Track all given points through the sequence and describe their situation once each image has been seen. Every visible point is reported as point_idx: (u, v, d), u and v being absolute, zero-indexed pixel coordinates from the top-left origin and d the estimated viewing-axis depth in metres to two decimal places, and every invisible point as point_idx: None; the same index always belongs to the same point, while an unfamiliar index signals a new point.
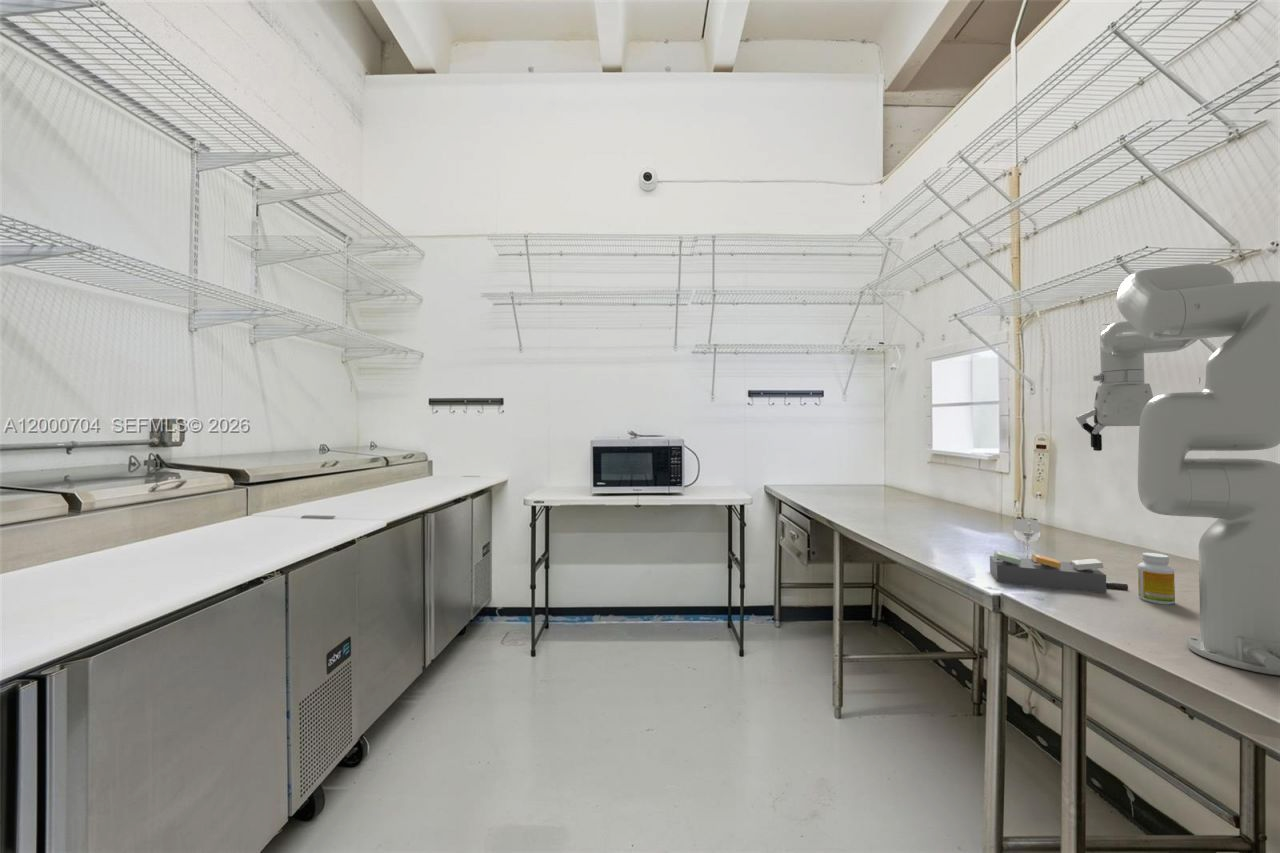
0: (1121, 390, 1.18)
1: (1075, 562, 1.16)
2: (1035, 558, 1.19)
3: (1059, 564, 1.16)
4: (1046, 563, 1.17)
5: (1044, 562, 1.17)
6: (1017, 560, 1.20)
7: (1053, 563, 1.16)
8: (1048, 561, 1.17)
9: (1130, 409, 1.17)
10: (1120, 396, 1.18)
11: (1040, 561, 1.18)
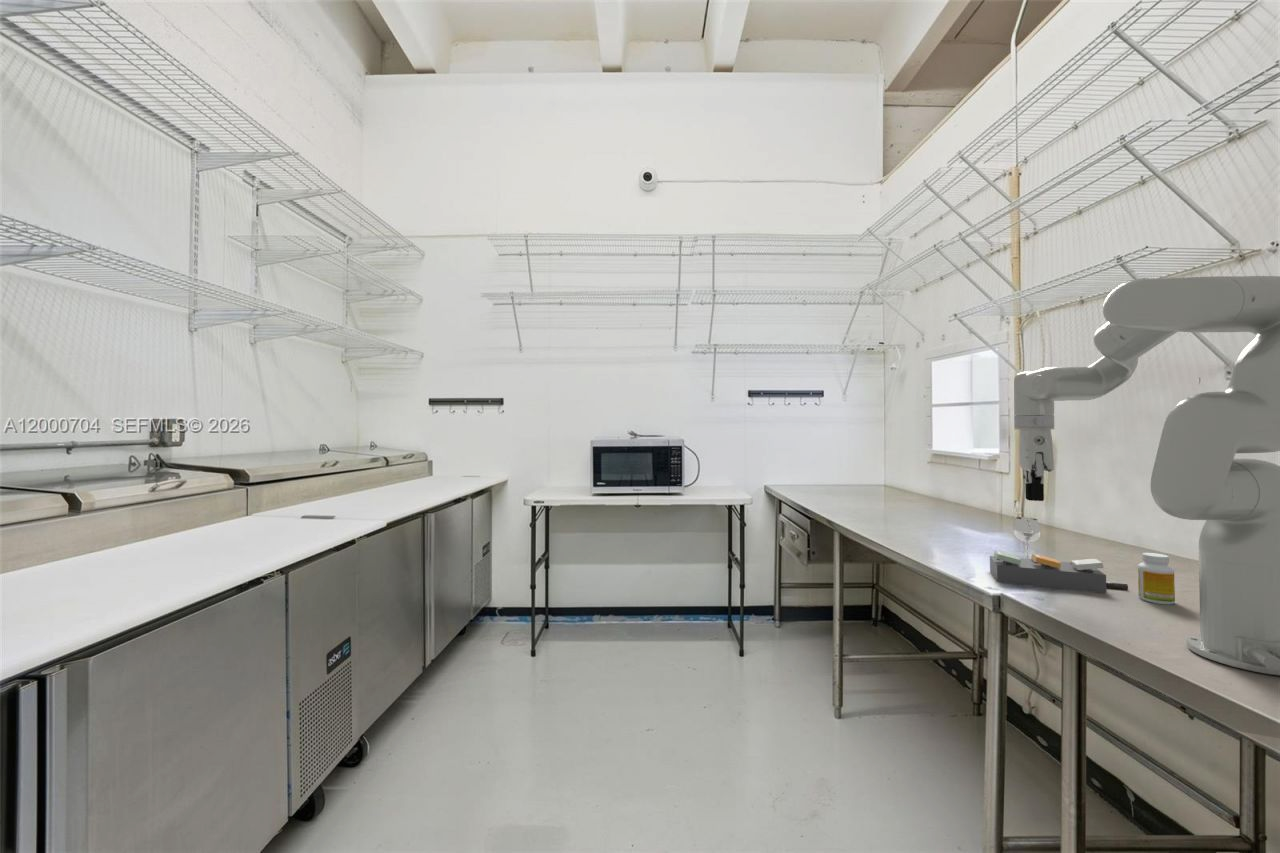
0: None
1: (1075, 562, 1.16)
2: (1035, 558, 1.19)
3: (1059, 564, 1.16)
4: (1046, 563, 1.17)
5: (1044, 562, 1.17)
6: (1017, 560, 1.20)
7: (1053, 563, 1.16)
8: (1048, 561, 1.17)
9: None
10: None
11: (1040, 561, 1.18)
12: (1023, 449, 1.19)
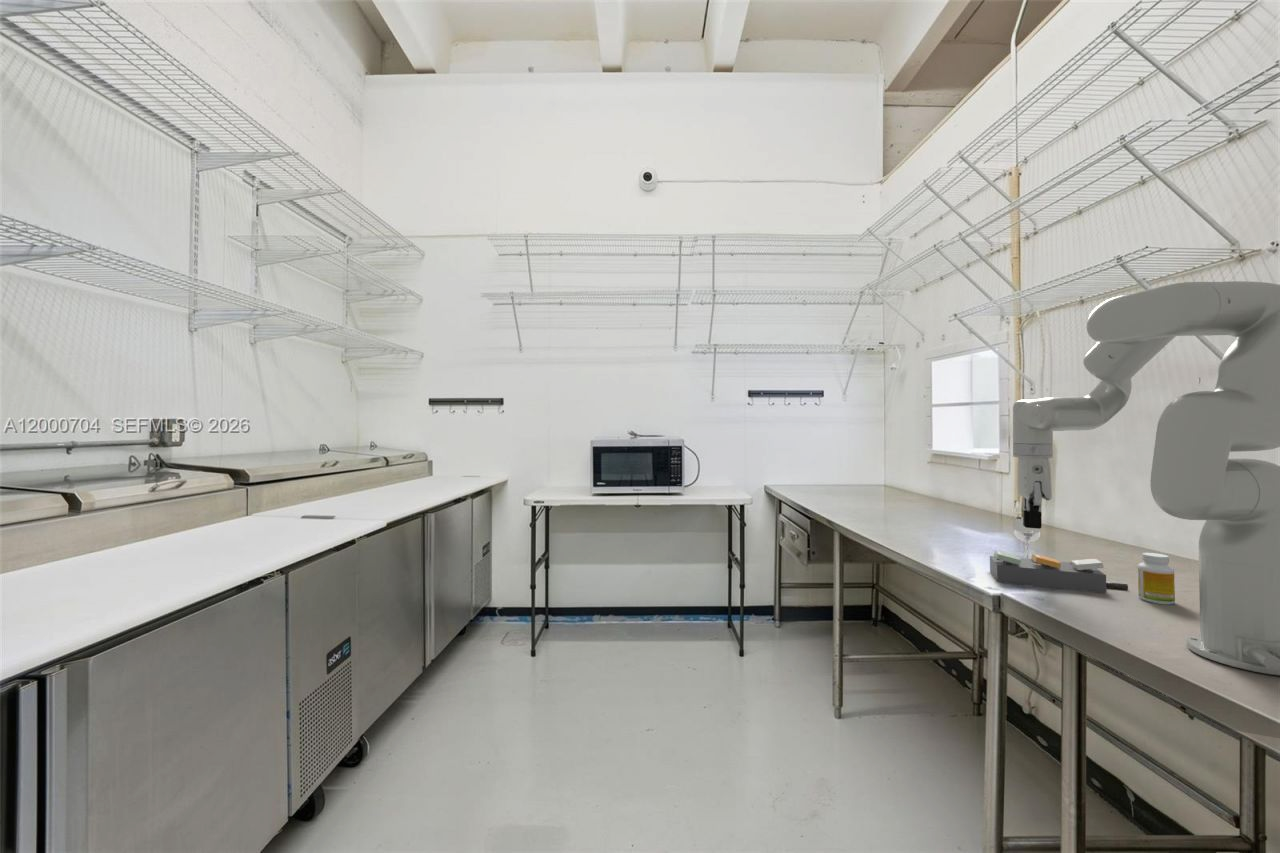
0: None
1: (1075, 562, 1.16)
2: (1035, 558, 1.19)
3: (1059, 564, 1.16)
4: (1046, 563, 1.17)
5: (1044, 562, 1.17)
6: (1017, 560, 1.20)
7: (1053, 563, 1.16)
8: (1048, 561, 1.17)
9: None
10: None
11: (1040, 561, 1.18)
12: (1021, 477, 1.20)
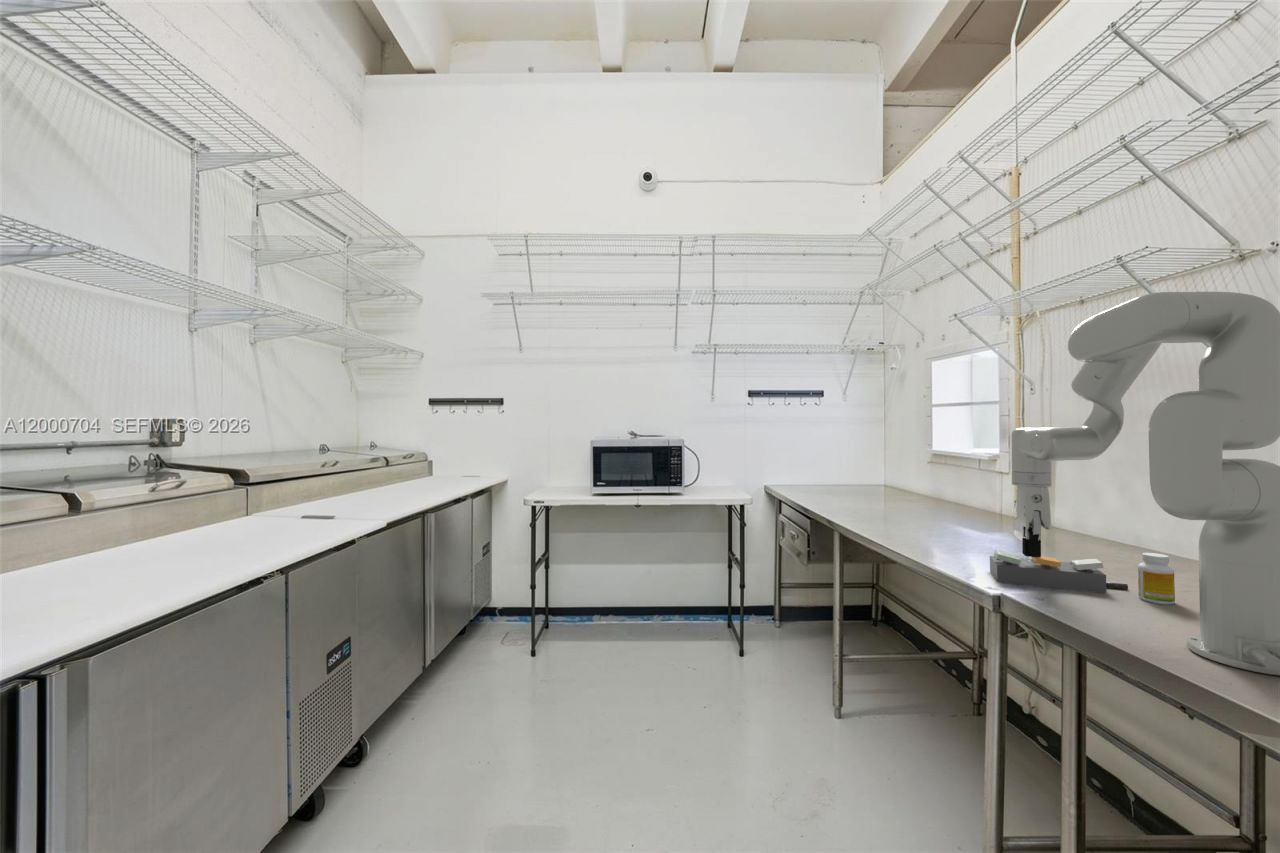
0: None
1: (1075, 562, 1.16)
2: (1035, 559, 1.19)
3: (1059, 563, 1.16)
4: (1046, 563, 1.17)
5: (1044, 562, 1.17)
6: (1017, 560, 1.20)
7: (1053, 563, 1.16)
8: (1048, 561, 1.17)
9: None
10: None
11: (1040, 562, 1.18)
12: (1020, 505, 1.19)
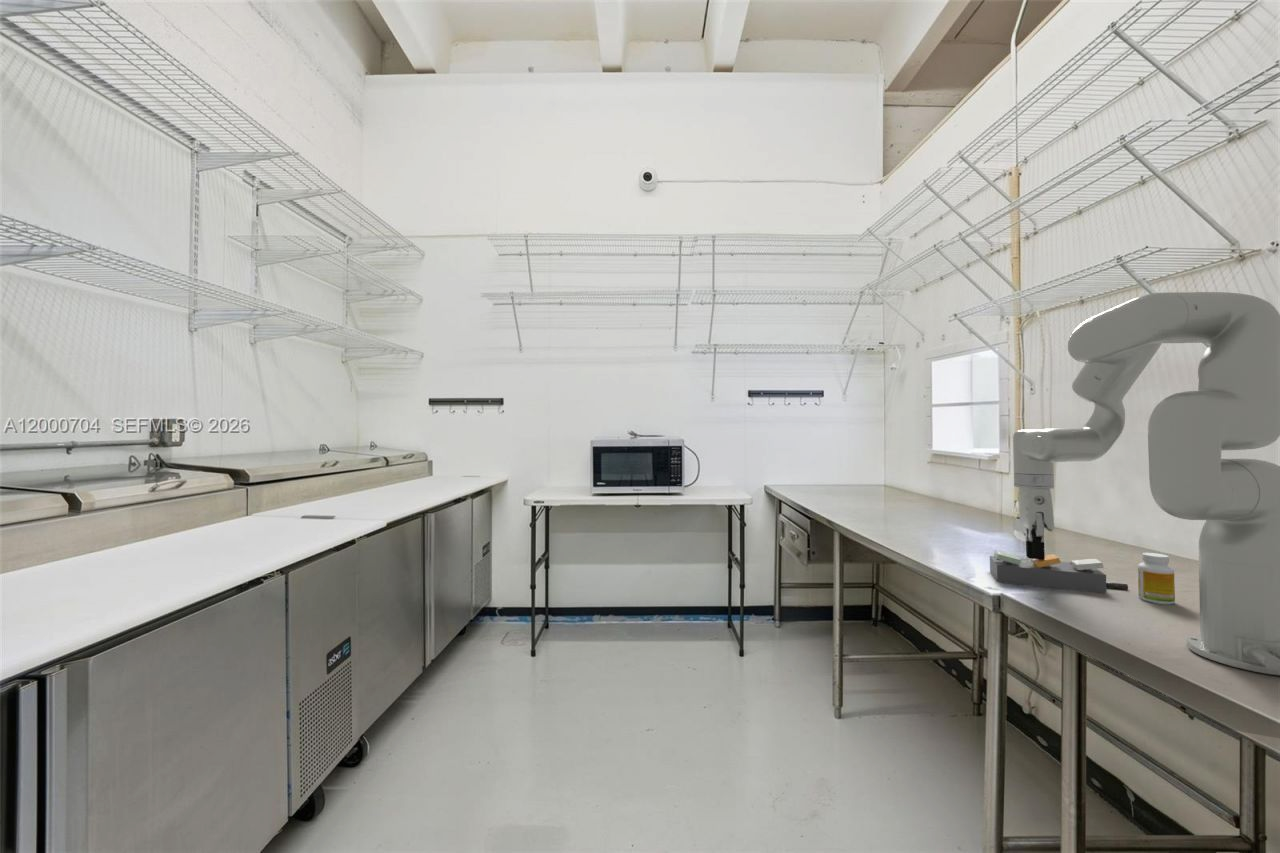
0: None
1: (1075, 562, 1.16)
2: (1035, 564, 1.19)
3: (1058, 559, 1.16)
4: (1047, 564, 1.17)
5: (1045, 563, 1.17)
6: (1017, 560, 1.20)
7: (1052, 561, 1.17)
8: (1047, 561, 1.17)
9: None
10: None
11: (1041, 565, 1.17)
12: (1023, 507, 1.19)
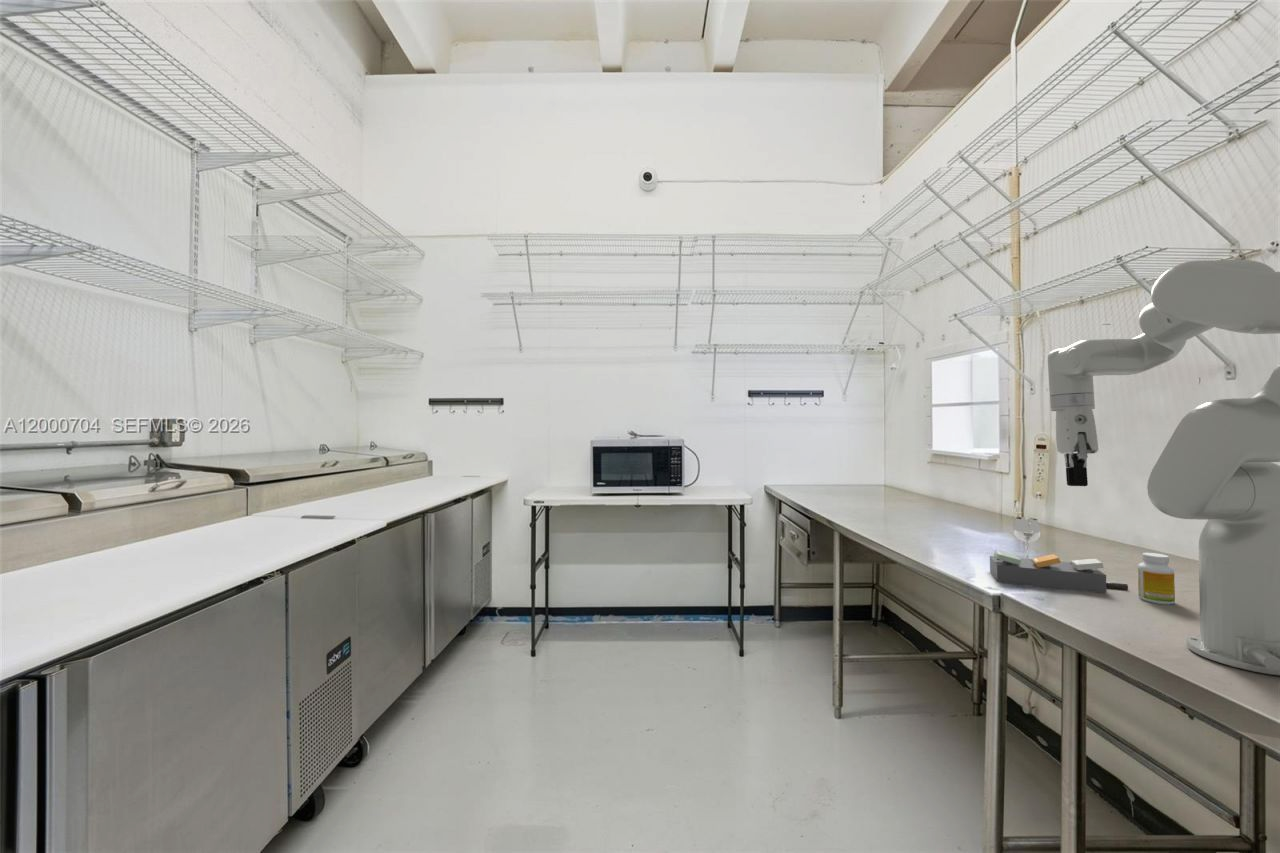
0: None
1: (1075, 562, 1.16)
2: (1035, 564, 1.19)
3: (1058, 559, 1.16)
4: (1047, 564, 1.17)
5: (1045, 563, 1.17)
6: (1017, 560, 1.20)
7: (1052, 561, 1.17)
8: (1047, 561, 1.17)
9: None
10: None
11: (1041, 564, 1.17)
12: (1062, 430, 1.11)
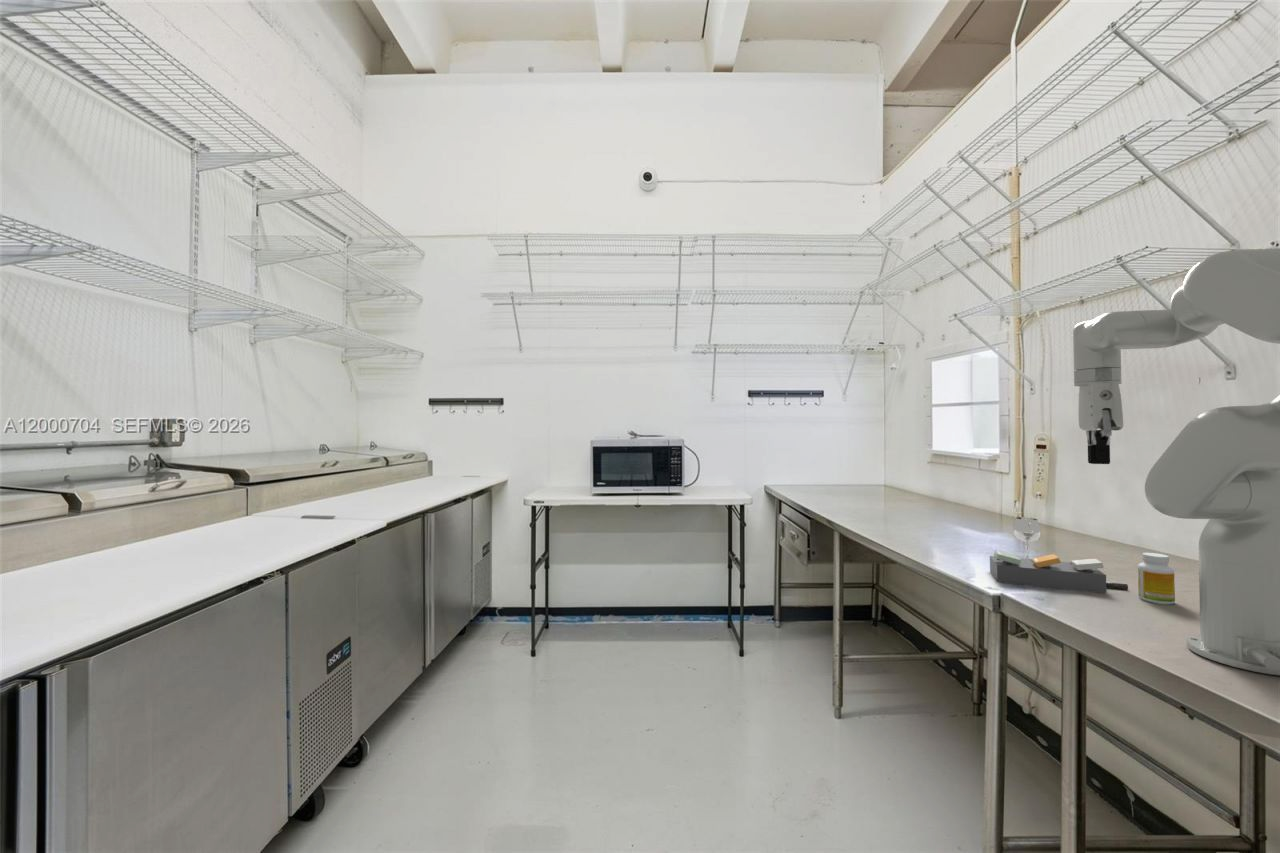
0: None
1: (1075, 562, 1.16)
2: (1035, 564, 1.19)
3: (1058, 559, 1.16)
4: (1047, 564, 1.17)
5: (1045, 563, 1.17)
6: (1017, 560, 1.20)
7: (1052, 561, 1.17)
8: (1047, 561, 1.17)
9: None
10: None
11: (1041, 564, 1.17)
12: (1086, 406, 1.07)
